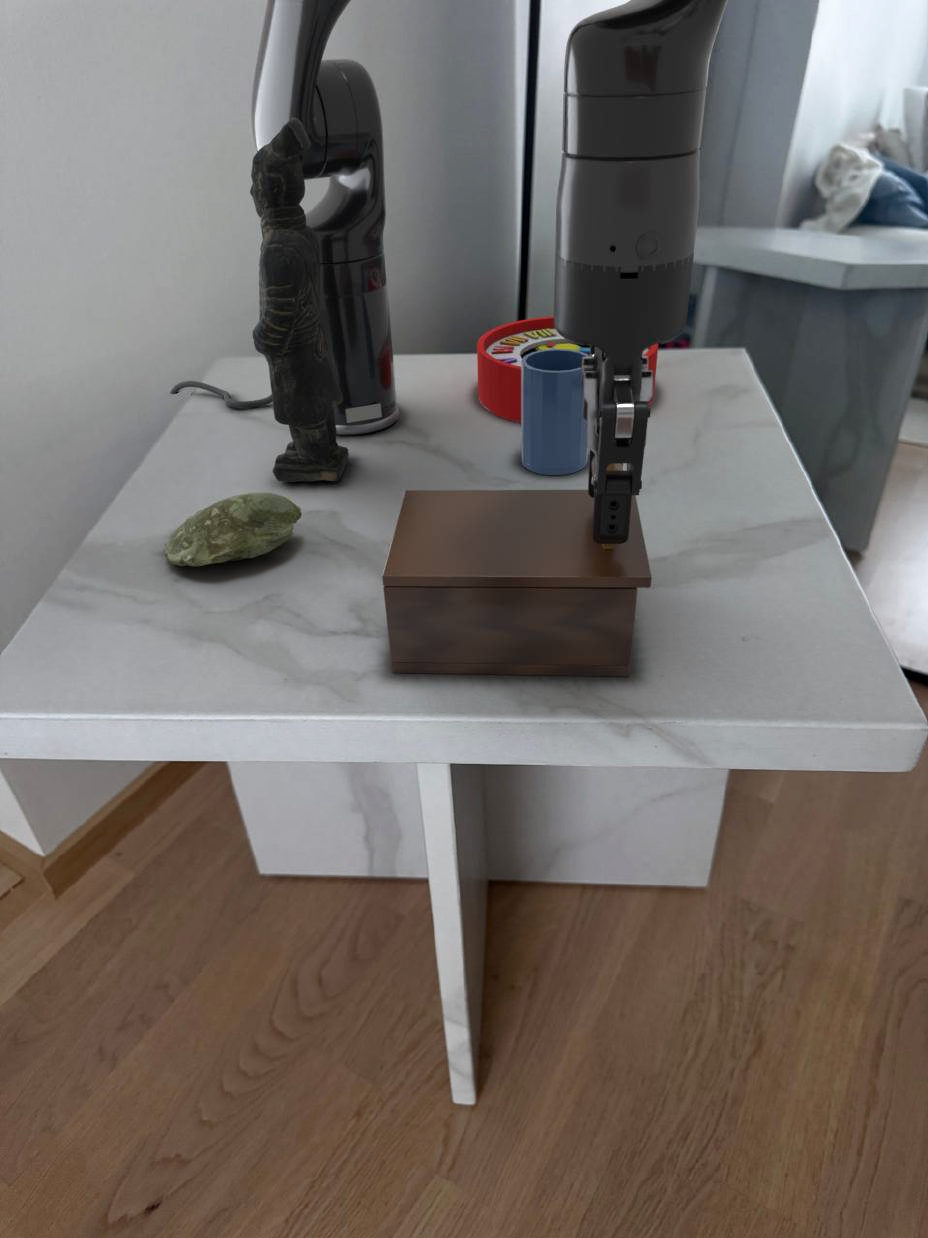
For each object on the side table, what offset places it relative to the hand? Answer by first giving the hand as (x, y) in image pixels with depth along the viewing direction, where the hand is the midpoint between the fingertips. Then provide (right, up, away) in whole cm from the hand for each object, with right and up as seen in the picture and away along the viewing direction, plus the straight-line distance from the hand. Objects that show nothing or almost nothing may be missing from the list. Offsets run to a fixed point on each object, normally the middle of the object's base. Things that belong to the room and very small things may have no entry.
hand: (606, 516), depth 57 cm
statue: (-24, +7, +28) cm, 37 cm away
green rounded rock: (-29, -1, +16) cm, 33 cm away
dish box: (-6, -7, +6) cm, 11 cm away
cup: (-1, +9, +28) cm, 29 cm away
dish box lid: (-6, -1, +2) cm, 6 cm away
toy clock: (+2, +19, +43) cm, 47 cm away
